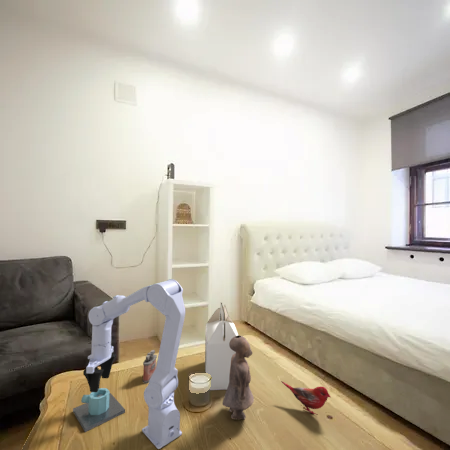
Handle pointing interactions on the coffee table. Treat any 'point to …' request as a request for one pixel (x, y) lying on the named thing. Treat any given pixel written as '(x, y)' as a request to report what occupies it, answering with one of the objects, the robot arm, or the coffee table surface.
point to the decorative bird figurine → (310, 396)
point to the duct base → (95, 420)
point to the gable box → (219, 348)
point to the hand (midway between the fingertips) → (100, 384)
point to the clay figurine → (239, 379)
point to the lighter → (149, 366)
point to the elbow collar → (97, 401)
